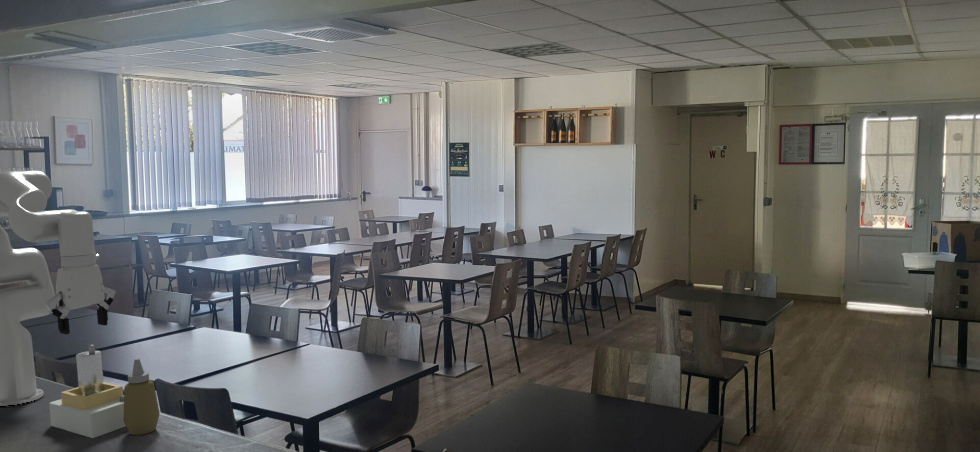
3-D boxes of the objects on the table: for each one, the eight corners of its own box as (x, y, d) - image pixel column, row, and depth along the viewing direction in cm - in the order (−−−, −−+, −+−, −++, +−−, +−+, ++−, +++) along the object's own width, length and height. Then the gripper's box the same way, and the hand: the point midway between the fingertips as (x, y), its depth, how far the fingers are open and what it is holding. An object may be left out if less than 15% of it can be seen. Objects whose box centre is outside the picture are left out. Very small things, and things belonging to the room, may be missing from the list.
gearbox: (51, 425, 186) (47, 391, 186) (97, 410, 197) (94, 377, 196) (92, 438, 177) (89, 401, 176) (138, 421, 187) (135, 387, 187)
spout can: (75, 401, 185) (70, 345, 184) (96, 395, 190) (91, 340, 189) (88, 405, 183) (83, 348, 181) (109, 398, 187) (104, 342, 186)
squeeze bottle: (146, 438, 176) (140, 364, 174) (117, 436, 178) (110, 363, 176) (167, 425, 184) (162, 355, 182) (139, 424, 186) (133, 354, 184)
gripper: (103, 255, 192) (108, 320, 194) (34, 265, 178) (40, 335, 179) (120, 257, 188) (125, 323, 190) (51, 268, 174) (57, 339, 176)
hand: (84, 329), depth 185 cm, fingers open, 9 cm apart
